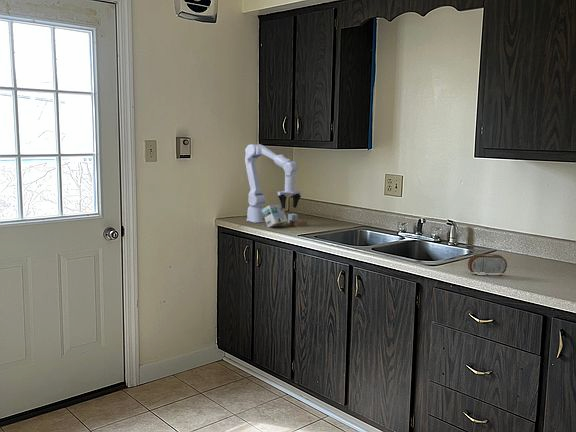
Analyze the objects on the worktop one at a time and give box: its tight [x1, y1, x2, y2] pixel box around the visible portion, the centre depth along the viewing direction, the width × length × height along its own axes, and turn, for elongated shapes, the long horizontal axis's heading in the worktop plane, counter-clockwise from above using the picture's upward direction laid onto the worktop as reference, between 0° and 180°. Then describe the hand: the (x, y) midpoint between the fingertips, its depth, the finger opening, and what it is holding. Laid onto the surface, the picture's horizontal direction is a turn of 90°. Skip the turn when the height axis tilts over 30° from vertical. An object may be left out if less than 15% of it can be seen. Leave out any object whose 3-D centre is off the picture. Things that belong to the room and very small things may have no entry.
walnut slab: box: [289, 218, 308, 227], centre depth 339 cm, size 7×7×3 cm
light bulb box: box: [262, 203, 288, 228], centre depth 330 cm, size 11×7×11 cm, turn 141°
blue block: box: [287, 213, 299, 223], centre depth 346 cm, size 4×4×5 cm
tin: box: [467, 253, 508, 274], centre depth 237 cm, size 15×3×8 cm, turn 93°
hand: (289, 207), depth 333 cm, fingers open, 7 cm apart
